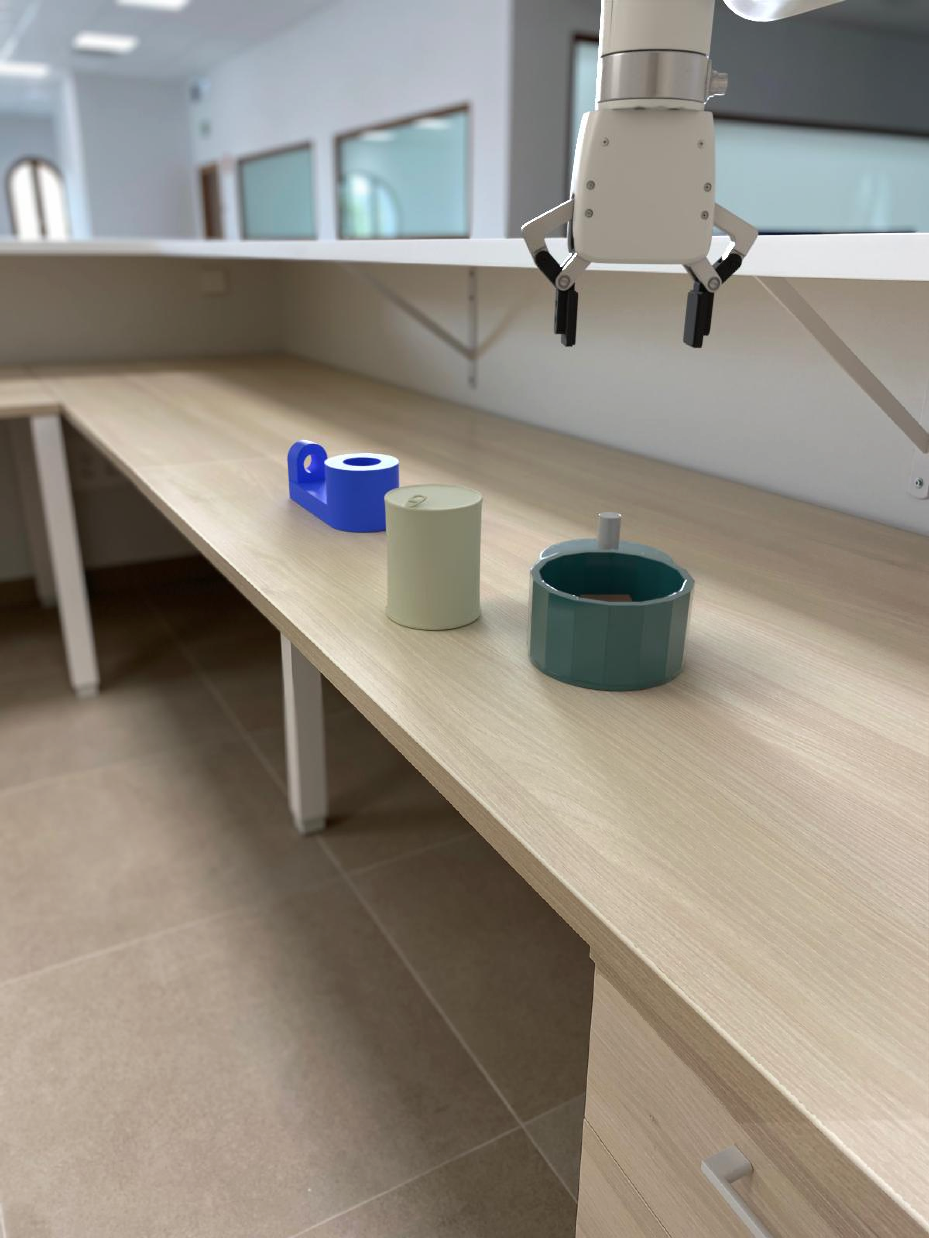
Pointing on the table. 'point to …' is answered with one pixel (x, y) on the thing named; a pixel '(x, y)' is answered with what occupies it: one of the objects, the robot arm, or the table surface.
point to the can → (433, 555)
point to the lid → (605, 540)
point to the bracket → (342, 486)
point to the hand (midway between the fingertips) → (630, 345)
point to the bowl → (609, 619)
